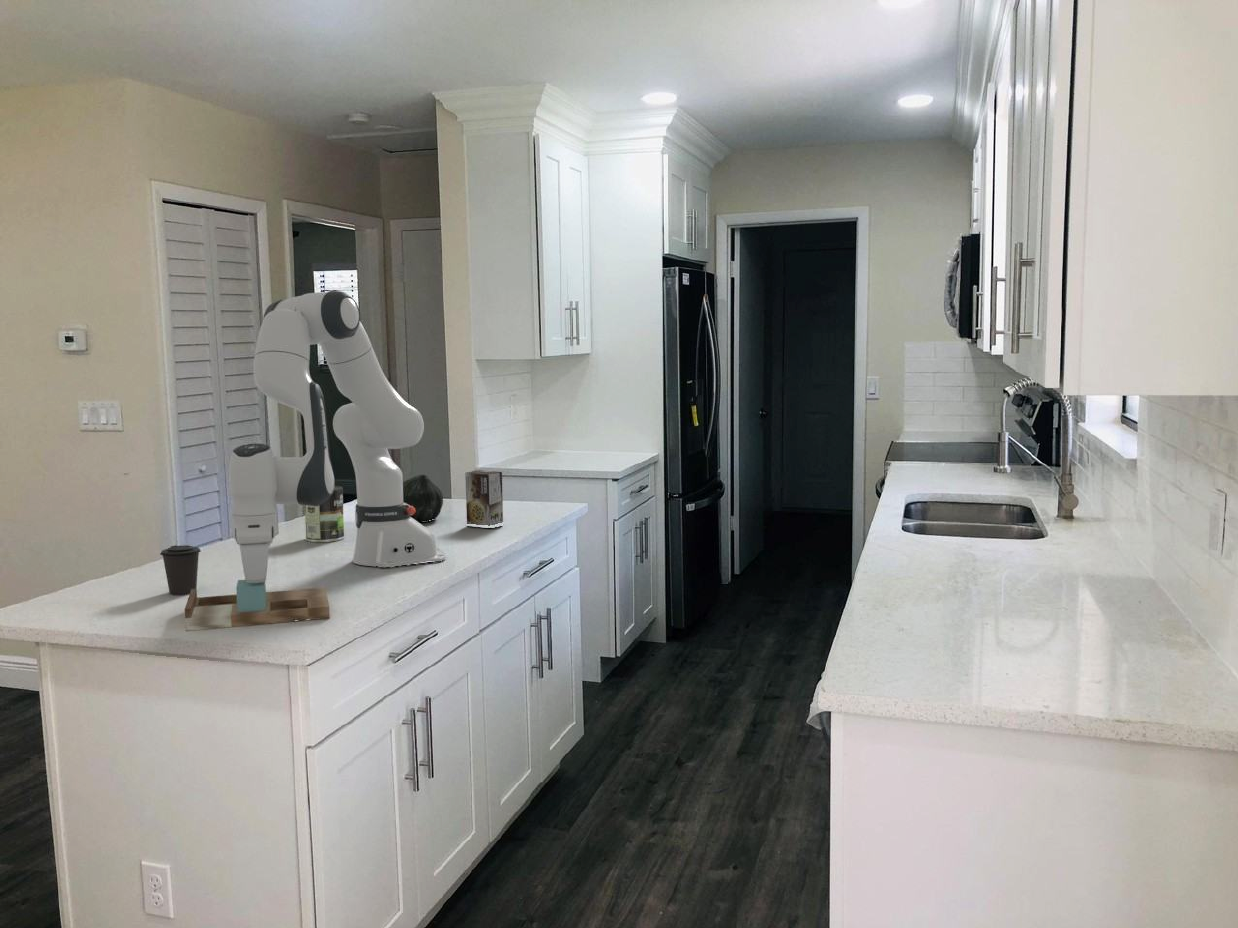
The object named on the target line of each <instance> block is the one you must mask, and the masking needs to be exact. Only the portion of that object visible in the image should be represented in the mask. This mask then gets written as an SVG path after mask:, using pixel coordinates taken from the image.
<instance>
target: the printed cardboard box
mask: <svg viewBox="0 0 1238 928" xmlns="http://www.w3.org/2000/svg"><path fill="white" fill-rule="evenodd" d="M464 475H465V478H464V479H465V501H466V502H465V504H466V505H465V506H466V507H465V508H466V525H467V524H476V525H488V526H490V525H495V524H498V523H502V522H503V523H504V515H503V514H504V512H503V511H504V509H503V505H504V504H503V501H504V499H503V472H502V471H499V470H498V471H497V470H496V471H495V470H482V469H481V470H480V469H478V470H477V469H476V470H472V471H467V472H465V474H464Z"/></svg>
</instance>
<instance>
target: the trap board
mask: <svg viewBox="0 0 1238 928" xmlns="http://www.w3.org/2000/svg"><path fill="white" fill-rule="evenodd" d="M330 615H331V614H330V603H329V598H328V593H327V588H326V587H315V588H304V589H303V588H302V589H289V590H276V591H266V609H265V610H263V611H250V612H238V609H237V593H236V594H226V595H225V594H223V595H211V596H210V595H209V596H198V590H197V588H196V589H191V592H190V594H188V598H187V601H186V604H185V608H184V617H185V618H184V619H185V631H186V632H187V631H188V632H189V631H200V630H210V629H223V628H234V627H247V626H257V625H269V624H268V623H272V624H277V623H276V622H284V623H287V622H286V621H295V620H306V619H318V620H329V619H331V618H330V617H331V616H330ZM295 622H296V621H295Z"/></svg>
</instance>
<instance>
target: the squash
mask: <svg viewBox="0 0 1238 928" xmlns="http://www.w3.org/2000/svg"><path fill="white" fill-rule="evenodd" d="M403 502H404V503H406V504H408V505H410V506H413V507H414V508H415V510H416V511H415V513H414V514H413V515H412V516H411V517H412V518H413V519H415V520H416V521H417V522H419V520H420V522H421V521H428V522H430V521H429V520H432V519H434V520H436V519H437V518H438V517H439V515H440V513H441V511H442V507H443V505H444V496H443V492H442V491H441V489H440V487H439V486H438V485H437V483H435V482H434V481H433V480H432V479H431V478H430V477H429V476H427V475H426V474H425V473H424V474H418V475H416V476H413V477H410V478H409V479H407V480H405V481H403ZM432 521H433V520H432Z"/></svg>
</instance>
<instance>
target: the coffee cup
mask: <svg viewBox="0 0 1238 928" xmlns="http://www.w3.org/2000/svg"><path fill="white" fill-rule="evenodd" d="M200 552H202V551H201V549H200V548H199V547H197V546H192V545H187V544H186V545H185V544H184V545H171V546H170V547H168V548H165V549H163V550H161V552H160V553H159V554H160V556H162V558H163V559H162V560H163V563H164V564H163V565H164V570H165V575H166V581H167V588H168V593H169V594H170V595H171V596H185V595H190V592H191V589H197V584H198V570H199V568H198V567H199V557H200V556H199V555H200V554H199V553H200Z"/></svg>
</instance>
